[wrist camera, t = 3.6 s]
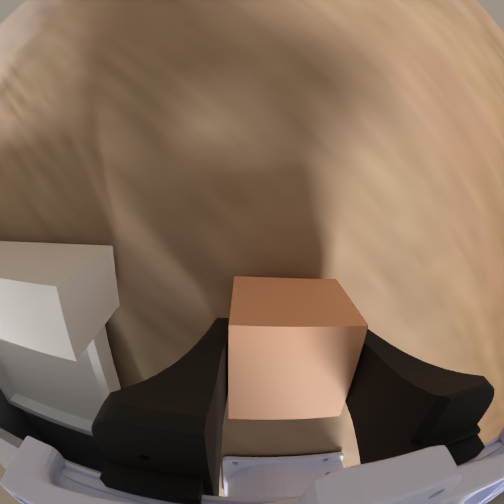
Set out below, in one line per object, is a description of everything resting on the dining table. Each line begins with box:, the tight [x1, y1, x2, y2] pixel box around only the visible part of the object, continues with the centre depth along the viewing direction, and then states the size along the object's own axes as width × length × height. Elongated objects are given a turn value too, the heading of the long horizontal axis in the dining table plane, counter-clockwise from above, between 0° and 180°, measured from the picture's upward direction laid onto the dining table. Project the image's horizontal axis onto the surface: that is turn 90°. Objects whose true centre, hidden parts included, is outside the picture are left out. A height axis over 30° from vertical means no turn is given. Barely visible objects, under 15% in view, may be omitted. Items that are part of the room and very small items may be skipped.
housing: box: [0, 388, 106, 474], centre depth 15 cm, size 16×16×7 cm
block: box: [228, 276, 368, 420], centre depth 11 cm, size 4×4×4 cm
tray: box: [0, 241, 121, 436], centre depth 12 cm, size 14×14×5 cm
